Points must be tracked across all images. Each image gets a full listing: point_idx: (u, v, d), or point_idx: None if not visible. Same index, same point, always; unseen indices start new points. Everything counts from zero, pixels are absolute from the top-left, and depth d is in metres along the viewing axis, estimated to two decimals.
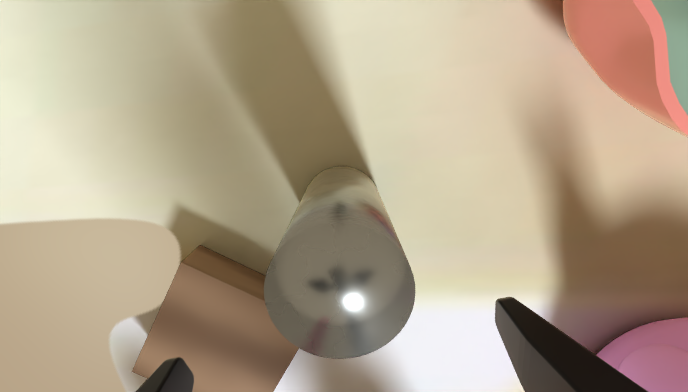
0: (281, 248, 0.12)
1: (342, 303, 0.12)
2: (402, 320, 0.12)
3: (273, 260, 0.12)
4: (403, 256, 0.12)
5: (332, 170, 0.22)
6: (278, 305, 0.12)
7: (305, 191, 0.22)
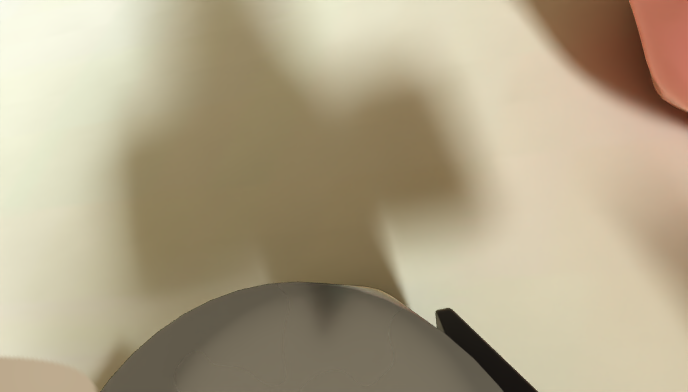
0: (129, 360, 0.04)
1: None
2: None
3: None
4: None
5: None
6: None
7: None
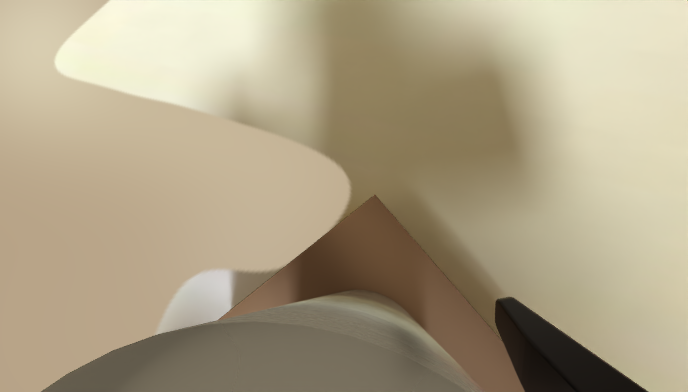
0: None
1: None
2: None
3: None
4: None
5: None
6: None
7: None
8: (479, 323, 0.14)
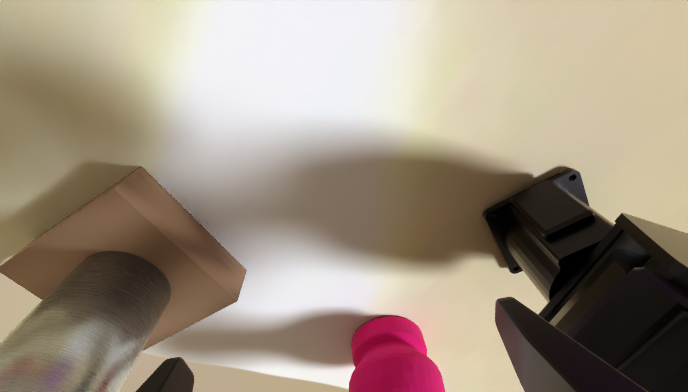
0: None
1: None
2: None
3: None
4: None
5: None
6: None
7: None
8: (79, 217, 0.18)
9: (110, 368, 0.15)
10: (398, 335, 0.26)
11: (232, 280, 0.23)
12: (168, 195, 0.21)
